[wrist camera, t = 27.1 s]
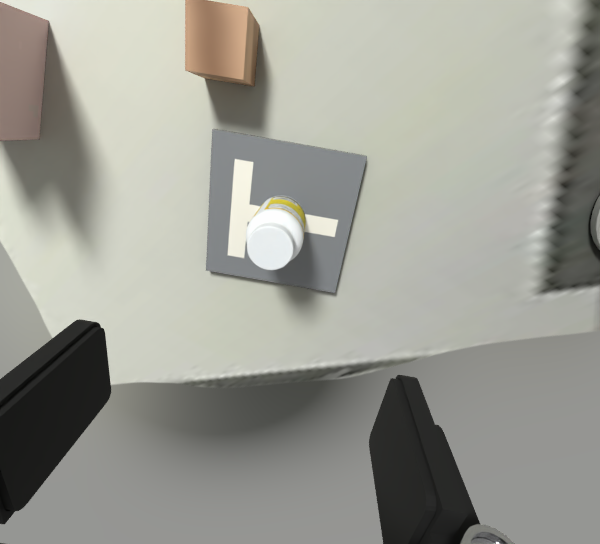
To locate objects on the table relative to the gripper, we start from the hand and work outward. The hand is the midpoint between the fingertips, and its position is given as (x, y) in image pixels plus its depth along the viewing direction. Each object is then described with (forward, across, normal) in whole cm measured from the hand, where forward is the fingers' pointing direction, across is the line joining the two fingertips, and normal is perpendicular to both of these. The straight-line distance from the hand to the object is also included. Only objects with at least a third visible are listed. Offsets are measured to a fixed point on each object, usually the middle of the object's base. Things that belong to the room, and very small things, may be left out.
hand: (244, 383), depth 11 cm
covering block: (+28, +9, -13) cm, 32 cm away
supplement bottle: (+28, +2, +2) cm, 28 cm away
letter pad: (+28, +2, +2) cm, 28 cm away
